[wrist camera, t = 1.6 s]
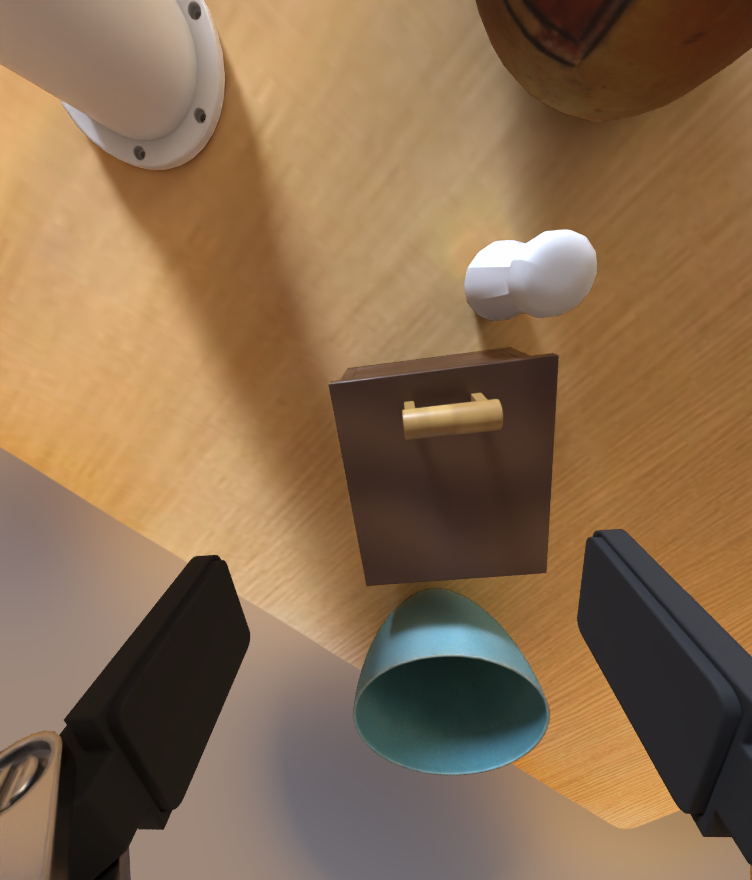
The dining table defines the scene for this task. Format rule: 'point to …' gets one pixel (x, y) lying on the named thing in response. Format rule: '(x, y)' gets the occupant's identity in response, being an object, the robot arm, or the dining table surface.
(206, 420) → the dining table surface
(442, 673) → the green bowl
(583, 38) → the ceramic pitcher
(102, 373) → the dining table surface
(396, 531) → the chest lid
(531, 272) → the salt shaker
